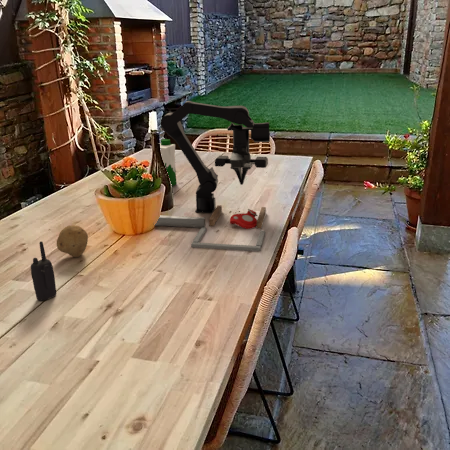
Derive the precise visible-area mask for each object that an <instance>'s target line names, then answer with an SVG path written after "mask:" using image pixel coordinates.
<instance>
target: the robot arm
mask: <svg viewBox="0 0 450 450" xmlns="http://www.w3.org/2000/svg"><path fill="white" fill-rule="evenodd" d="M190 114H191V115H198V116H204V117H205V116H206V117H213V118H218V119H223V120H225V121H227V122H230V123H231V124H230V125H229V126H228V127H227V131H232V146H233V147H232V152H231V156H230V157H229V156H228V155H218V156H217V157H216V158H215V159H214V166H215V167H220V168H221V167H224V166H225V165H230V167H229V168H230V169H231V170H233V171H234V172H235V174H236V177H237V179H238V183H239V184H240V186H241V185H243V184H244V182H245V179H246V178H247V177H246V176H247V174H248V171H249V170H251V169H252V168H253V166H254V167H256V168H260V169H261V168H262V169H265V168H267V166H268V164H269V159H268V157H267V156H256V158H254V159H253V158H251V157H252V156H251V153H250V140H252V141H253V142H254V143H270V141H271V133H270V131H271V130H270V122H257V123H256V122H254V120H253V119H252V118H251V117H250V112H249V109H248V108H247V107H246V106H244V105H229V106H222V105H214V104H210V103H209V104H208V103H201V102H196V101H195V102H194V101H191V100H187V101H185V102H183V104H182V105H181V106H179V107H178V108H177V109H176V110H175V111H173V112H168V113H166V114H165V115H163V116H162V117H161V119H160V122H159V123H160V127H161V129H163V131H164V132H165V133H166V134H167V135H168V136H169V137H170V138H172V140H174V142H175V143H176V144H177V146H178V147H179V149H180V150H181V152H182V153H183V155H184V157H185V158H186V159H187V161H188V163H189V164H190V165H191V167H192V169H193V171H194V172H195V173H196V177H197V180H198V183H199V185H198V186H197V187H196V191H195V205H196V209H195V213H207V214H213V212H214V210H215V209H216V207H217V206H216V204H217V202H216V197H215V194H214V192H215V191H216V189H217V188H218V187H217V186H218V183H219V179H218V178H219V175H218V174H217V173H216V172H215V170H214V168H213V167H210V168H209V167H208V166H206V165H205V163H204V162H203V160H202V158H201V157H200V155H199V153H198V152H197V151H196V149H195V147H194V146H193V144H192V143H191V141H190V140H189V138H188V136H187V135H186V133H185V131H184V128H183V124H182V122H181V121H182V120H183V119H184V118H186V117H187V116H188V115H190Z"/></svg>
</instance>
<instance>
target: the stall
mask: <svg viewBox="0 0 450 450" xmlns="http://www.w3.org/2000/svg"><path fill="white" fill-rule="evenodd" d="M222 208H223V207H222V205H220V204H218V205H217V206H216V208H215V209H214V211H213V212H212V213H211V216H210V217H209V218H208V222H209V224H208V225H209V227H215V225H216V223H217V221H218V219H219V218H220V216H221V214H222V213H223V210H222ZM266 209H267V207H266V206H261V209H260V211H259V214H258V216H257V218H256V219H257V226H256V229H260V230H262V228H263V227H262V226H263V223H264V220H265V217H266V214H267V210H266Z"/></svg>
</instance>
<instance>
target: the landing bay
mask: <svg viewBox="0 0 450 450" xmlns="http://www.w3.org/2000/svg"><path fill="white" fill-rule="evenodd" d="M206 231H207V227H202V228H200V229H199V231H198V232H197V234H196V235H195V237H194V239H193V240H192V242H191V244H190V246H191V247H190V248H197V249H198V248H200V249H201V248H202V249H203V248H204V249H217V250H220V249H221V250H235V251H251V252H252V251H253V252H255V251H256V252H261V249H262V245H263V242H264V239H265V238H264V237H265V235H266V230H263V229H260V230H259V234H258V236H257V237H258V238H257V241H256V243H255V245H249V244H248V245H247V244H229V243H228V244H227V243H212V242H210V243H209V242H200V241H201V240H202V238H203V236H204V235H205V233H206Z"/></svg>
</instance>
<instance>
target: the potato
mask: <svg viewBox="0 0 450 450" xmlns="http://www.w3.org/2000/svg"><path fill="white" fill-rule="evenodd" d="M88 241H89V235H88V233H87V231H86V230H85V229H84V228H83V227H81V226H80V225H72V224H71V225H67V226H65V227H64V228H63V229H61V230H60V231H59V235H58V236H57V239H56V248H57V249H58V251H59V252H61V253H65V254H67V255H69V256H70V257H73V258H79V257H80V256H82V255H83V254H84V253H85V250H86V249H87V246H88Z"/></svg>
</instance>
